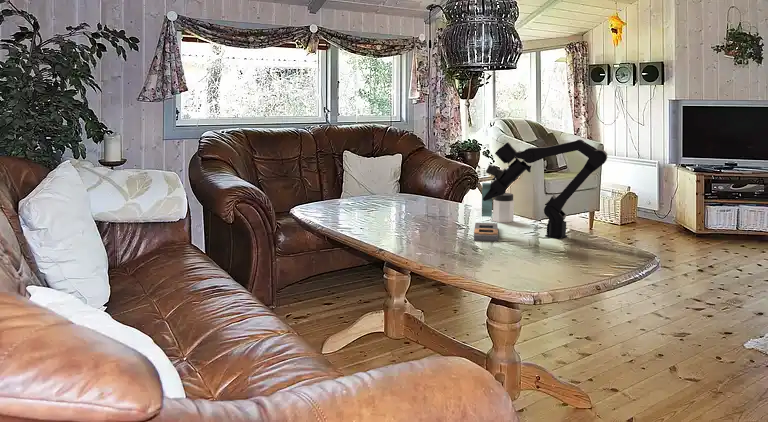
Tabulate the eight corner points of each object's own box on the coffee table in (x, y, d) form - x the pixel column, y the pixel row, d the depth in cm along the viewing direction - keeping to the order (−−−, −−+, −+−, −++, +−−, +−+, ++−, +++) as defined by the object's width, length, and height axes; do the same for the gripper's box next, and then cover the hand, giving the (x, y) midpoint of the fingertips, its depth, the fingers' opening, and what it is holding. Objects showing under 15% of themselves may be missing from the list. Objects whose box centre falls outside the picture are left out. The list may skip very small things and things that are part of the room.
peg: (481, 214, 260) (482, 182, 258) (491, 215, 260) (492, 183, 257) (481, 216, 257) (482, 184, 254) (491, 216, 256) (492, 184, 254)
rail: (475, 227, 269) (475, 221, 269) (497, 228, 268) (497, 222, 267) (473, 240, 244) (473, 234, 244) (497, 241, 243) (497, 235, 242)
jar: (512, 219, 287) (513, 192, 285) (514, 222, 279) (515, 195, 277) (492, 219, 288) (492, 192, 286) (493, 222, 280) (494, 195, 278)
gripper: (498, 155, 262) (471, 182, 266) (497, 159, 244) (467, 187, 248) (517, 175, 262) (489, 201, 266) (518, 180, 244) (488, 208, 248)
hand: (483, 199), depth 257 cm, fingers closed on peg, 4 cm apart
